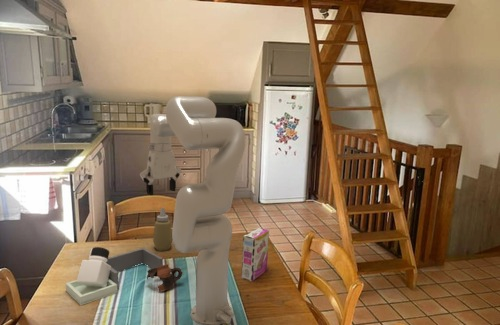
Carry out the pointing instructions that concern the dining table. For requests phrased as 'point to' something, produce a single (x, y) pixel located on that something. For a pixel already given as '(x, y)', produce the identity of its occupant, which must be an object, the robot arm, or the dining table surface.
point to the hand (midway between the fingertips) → (161, 192)
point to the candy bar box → (255, 254)
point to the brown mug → (165, 276)
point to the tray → (89, 291)
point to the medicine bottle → (95, 268)
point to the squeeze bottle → (162, 232)
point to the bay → (132, 262)
